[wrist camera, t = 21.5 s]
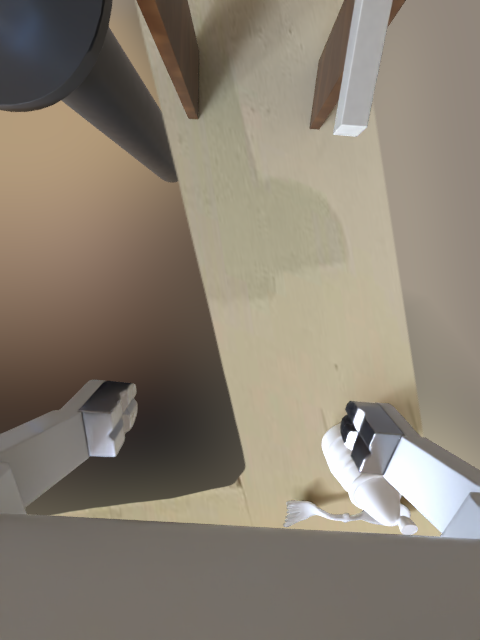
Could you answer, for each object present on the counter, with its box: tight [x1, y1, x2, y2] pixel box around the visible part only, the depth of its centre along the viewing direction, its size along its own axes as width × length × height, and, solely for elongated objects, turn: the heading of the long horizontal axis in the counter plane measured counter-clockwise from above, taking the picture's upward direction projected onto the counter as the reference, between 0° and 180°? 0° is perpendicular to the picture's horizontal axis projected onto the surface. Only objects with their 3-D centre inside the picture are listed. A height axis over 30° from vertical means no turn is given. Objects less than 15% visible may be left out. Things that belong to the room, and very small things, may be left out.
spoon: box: [283, 500, 411, 527], centre depth 60 cm, size 9×32×3 cm, turn 88°
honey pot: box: [322, 423, 418, 535], centre depth 46 cm, size 13×13×18 cm
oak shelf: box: [137, 0, 406, 129], centre depth 24 cm, size 20×8×22 cm, turn 86°
